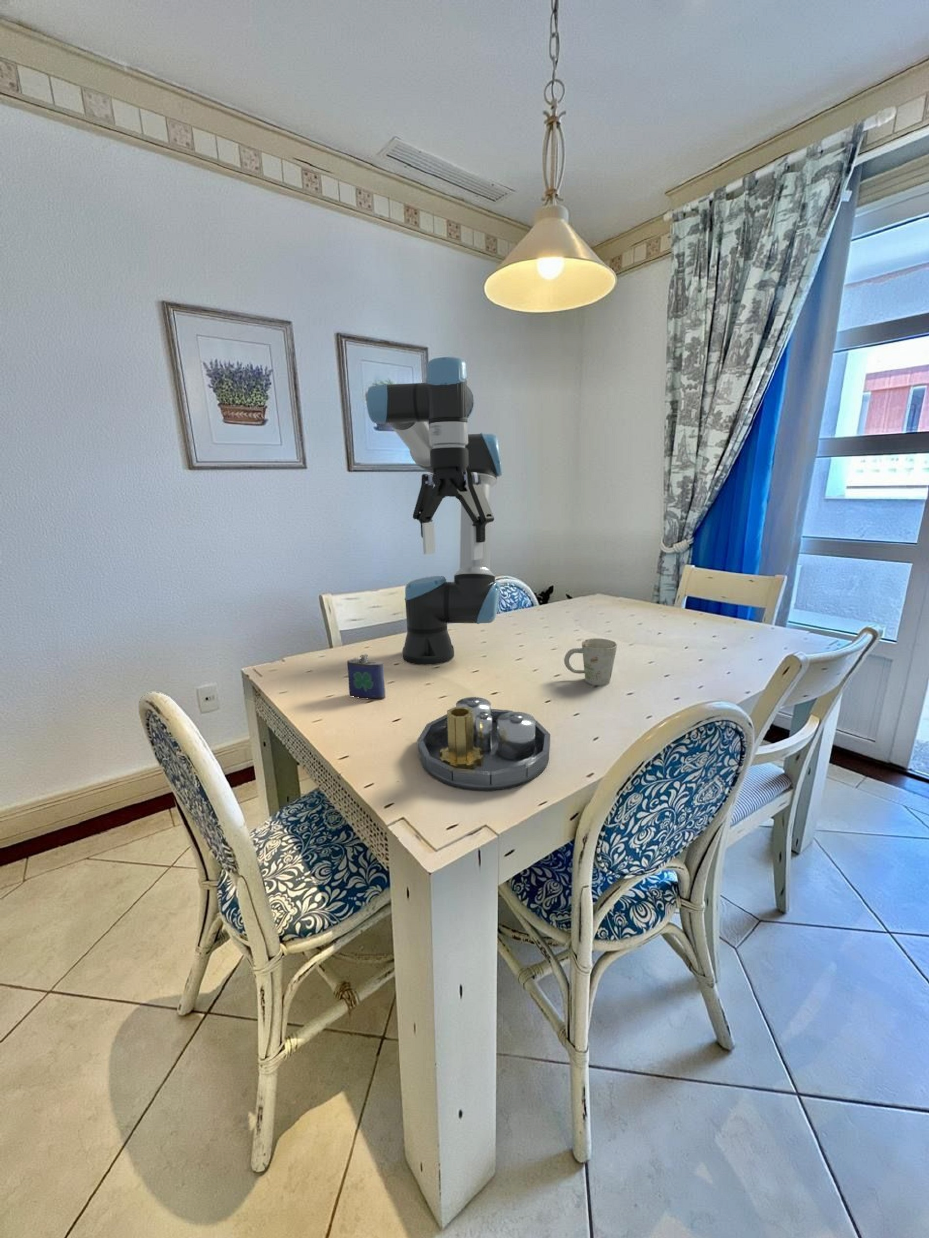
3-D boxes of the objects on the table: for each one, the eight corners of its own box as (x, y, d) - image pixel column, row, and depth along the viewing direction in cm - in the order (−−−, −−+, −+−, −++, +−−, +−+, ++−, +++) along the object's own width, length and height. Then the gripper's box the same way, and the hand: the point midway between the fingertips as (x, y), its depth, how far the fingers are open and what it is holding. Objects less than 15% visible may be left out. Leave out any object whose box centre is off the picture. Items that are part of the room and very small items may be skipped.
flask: (387, 696, 118) (384, 653, 115) (382, 701, 115) (378, 658, 113) (352, 692, 121) (348, 651, 118) (346, 697, 118) (342, 655, 115)
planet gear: (430, 762, 87) (428, 713, 85) (460, 745, 92) (458, 699, 90) (462, 778, 82) (460, 727, 80) (491, 759, 87) (491, 710, 85)
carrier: (393, 756, 91) (390, 717, 89) (477, 712, 108) (477, 678, 106) (493, 810, 76) (493, 764, 74) (573, 748, 93) (575, 709, 91)
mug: (616, 688, 119) (618, 649, 117) (563, 685, 122) (564, 647, 119) (613, 675, 127) (615, 638, 124) (563, 673, 130) (564, 637, 127)
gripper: (392, 450, 101) (398, 553, 107) (486, 442, 85) (487, 564, 91) (419, 451, 106) (423, 549, 112) (512, 443, 90) (511, 558, 96)
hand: (452, 556), depth 101 cm, fingers open, 13 cm apart
